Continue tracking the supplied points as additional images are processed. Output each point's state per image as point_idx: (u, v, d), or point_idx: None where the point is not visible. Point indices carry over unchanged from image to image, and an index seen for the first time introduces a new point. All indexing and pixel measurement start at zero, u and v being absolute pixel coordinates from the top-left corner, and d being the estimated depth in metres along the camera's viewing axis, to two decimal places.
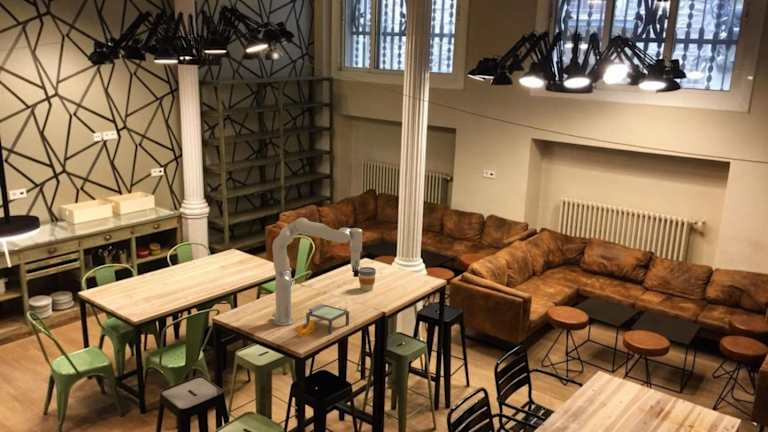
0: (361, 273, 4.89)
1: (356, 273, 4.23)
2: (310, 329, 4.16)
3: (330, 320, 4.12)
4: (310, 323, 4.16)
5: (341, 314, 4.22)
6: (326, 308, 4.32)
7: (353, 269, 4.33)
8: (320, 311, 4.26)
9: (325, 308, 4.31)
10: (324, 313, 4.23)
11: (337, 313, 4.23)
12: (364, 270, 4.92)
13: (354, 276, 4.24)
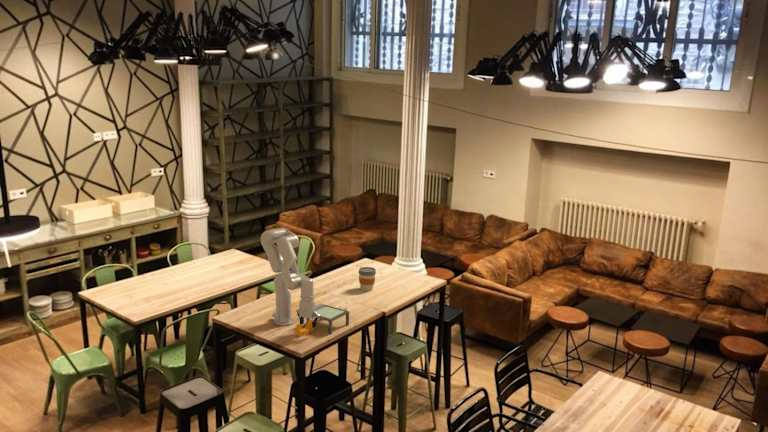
0: (361, 273, 4.89)
1: (315, 323, 4.09)
2: (309, 328, 4.16)
3: (330, 320, 4.12)
4: (309, 322, 4.17)
5: (341, 314, 4.22)
6: (326, 308, 4.32)
7: (301, 321, 4.13)
8: (320, 311, 4.26)
9: (325, 308, 4.31)
10: (324, 313, 4.23)
11: (337, 313, 4.23)
12: (364, 270, 4.92)
13: (313, 327, 4.09)
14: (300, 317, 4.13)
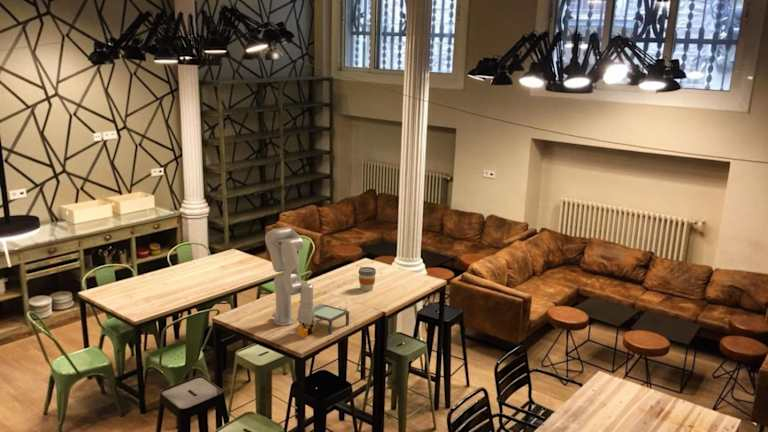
0: (361, 273, 4.89)
1: (311, 330, 4.12)
2: None
3: (330, 320, 4.12)
4: None
5: (341, 314, 4.22)
6: (326, 308, 4.32)
7: None
8: (320, 311, 4.26)
9: (325, 308, 4.31)
10: (324, 313, 4.23)
11: (337, 313, 4.23)
12: (364, 270, 4.92)
13: None
14: (301, 324, 4.13)
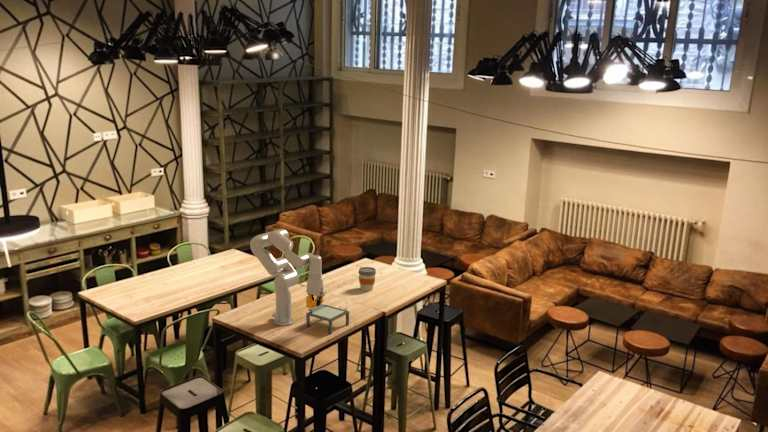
0: (361, 273, 4.89)
1: (319, 302, 4.11)
2: None
3: (330, 320, 4.12)
4: None
5: (341, 314, 4.22)
6: (326, 308, 4.32)
7: None
8: (320, 311, 4.26)
9: (325, 308, 4.31)
10: (324, 313, 4.23)
11: (337, 313, 4.23)
12: (364, 270, 4.92)
13: (317, 305, 4.11)
14: (310, 296, 4.13)
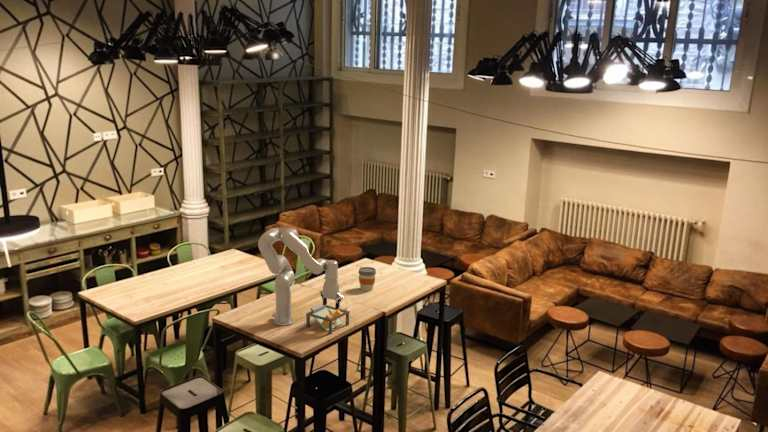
0: (361, 273, 4.89)
1: (338, 304, 4.19)
2: None
3: (330, 320, 4.12)
4: (337, 313, 4.26)
5: (341, 314, 4.22)
6: (326, 310, 4.32)
7: (324, 302, 4.24)
8: (320, 314, 4.26)
9: (325, 310, 4.31)
10: None
11: (335, 323, 4.26)
12: (364, 270, 4.92)
13: (336, 308, 4.19)
14: (323, 298, 4.23)
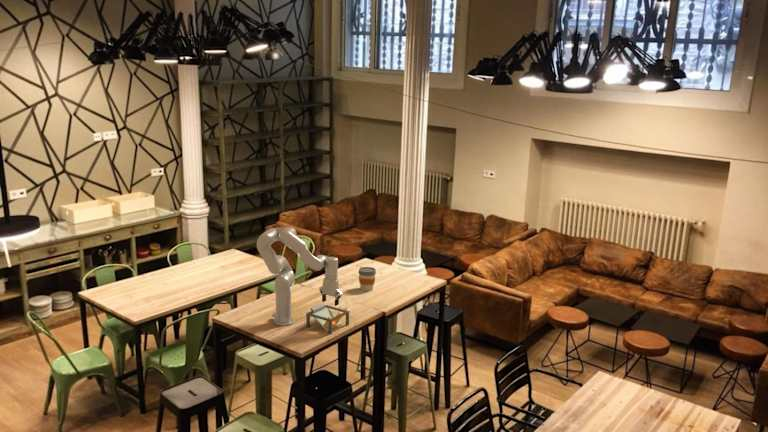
0: (361, 273, 4.89)
1: (338, 301, 4.18)
2: (337, 320, 4.26)
3: (330, 320, 4.12)
4: None
5: (341, 314, 4.22)
6: (326, 310, 4.32)
7: (323, 299, 4.23)
8: (320, 314, 4.26)
9: (325, 310, 4.31)
10: None
11: None
12: (364, 270, 4.92)
13: (335, 305, 4.18)
14: (323, 294, 4.22)
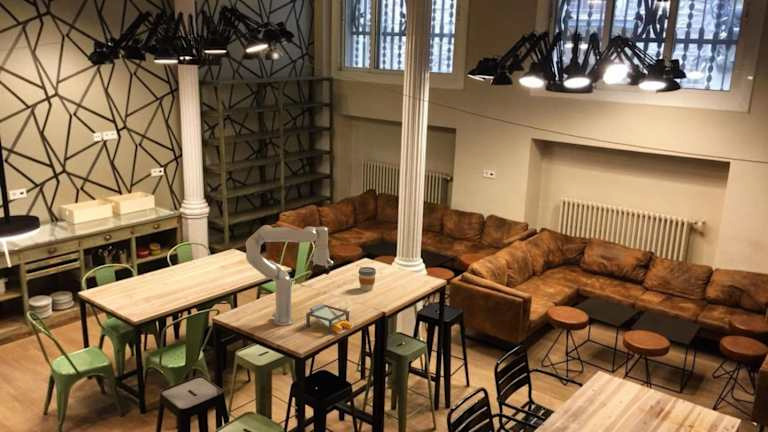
0: (361, 273, 4.89)
1: (329, 270, 4.26)
2: None
3: (330, 320, 4.12)
4: (347, 326, 4.23)
5: (341, 314, 4.22)
6: (327, 309, 4.32)
7: (315, 269, 4.31)
8: (320, 313, 4.26)
9: (325, 309, 4.31)
10: None
11: (336, 320, 4.24)
12: (364, 270, 4.92)
13: (327, 274, 4.26)
14: (314, 264, 4.30)
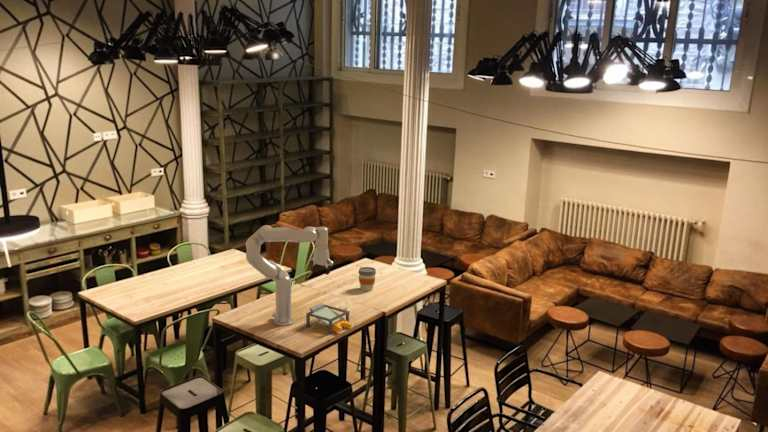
0: (361, 273, 4.89)
1: (329, 270, 4.26)
2: None
3: (330, 320, 4.12)
4: (347, 326, 4.23)
5: (341, 314, 4.22)
6: (327, 309, 4.32)
7: (315, 269, 4.31)
8: (320, 312, 4.26)
9: (325, 309, 4.31)
10: (324, 316, 4.23)
11: (337, 319, 4.24)
12: (364, 270, 4.92)
13: (327, 274, 4.26)
14: (314, 264, 4.30)
